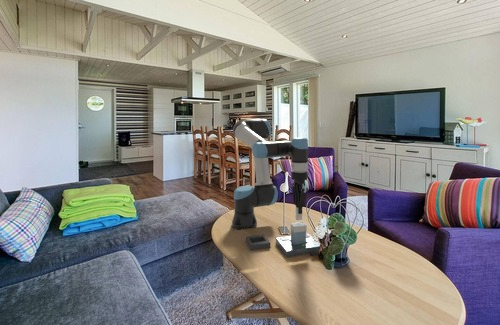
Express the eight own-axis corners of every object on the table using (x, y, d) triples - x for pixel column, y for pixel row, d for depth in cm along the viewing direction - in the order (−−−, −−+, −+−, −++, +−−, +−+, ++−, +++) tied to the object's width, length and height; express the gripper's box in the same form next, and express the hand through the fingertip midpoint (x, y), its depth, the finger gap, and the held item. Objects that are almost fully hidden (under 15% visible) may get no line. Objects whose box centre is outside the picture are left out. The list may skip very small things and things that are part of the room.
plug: (290, 246, 127) (290, 223, 125) (302, 244, 129) (302, 221, 127) (294, 250, 123) (294, 226, 121) (306, 248, 125) (306, 225, 123)
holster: (245, 243, 133) (245, 236, 133) (264, 240, 136) (264, 234, 135) (250, 252, 124) (250, 245, 123) (270, 249, 126) (270, 242, 126)
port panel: (275, 245, 130) (275, 236, 130) (308, 240, 135) (308, 232, 134) (286, 259, 117) (286, 249, 116) (322, 253, 122) (322, 244, 121)
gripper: (286, 169, 125) (286, 215, 129) (298, 174, 113) (297, 225, 116) (300, 168, 127) (300, 214, 131) (313, 173, 115) (312, 223, 118)
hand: (298, 219), depth 123 cm, fingers closed
